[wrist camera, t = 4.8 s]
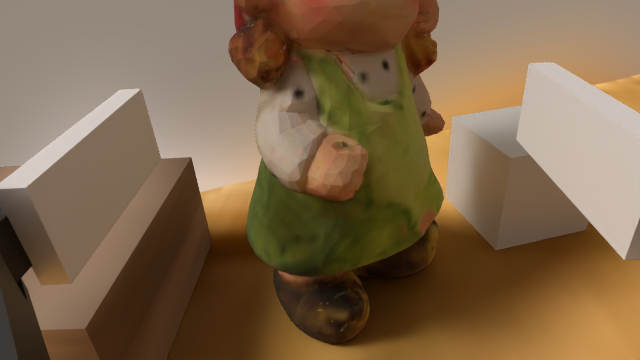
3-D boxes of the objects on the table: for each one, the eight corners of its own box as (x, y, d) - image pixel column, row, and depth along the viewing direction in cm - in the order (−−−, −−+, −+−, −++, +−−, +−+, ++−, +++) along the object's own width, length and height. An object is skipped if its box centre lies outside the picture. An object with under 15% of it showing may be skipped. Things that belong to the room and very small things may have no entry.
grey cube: (522, 182, 31) (537, 102, 28) (586, 231, 26) (612, 139, 23) (445, 198, 30) (452, 116, 27) (495, 251, 25) (511, 158, 22)
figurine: (387, 391, 18) (397, -301, 8) (224, 321, 22) (90, -203, 12) (454, 240, 26) (501, -195, 16) (326, 208, 30) (299, -158, 20)
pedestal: (211, 242, 27) (191, 157, 24) (137, 436, 17) (85, 328, 14) (28, 249, 28) (-15, 167, 25) (-153, 440, 18) (-263, 338, 15)
